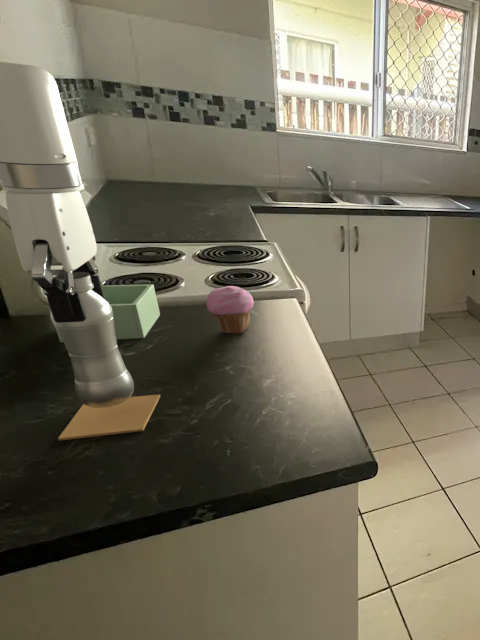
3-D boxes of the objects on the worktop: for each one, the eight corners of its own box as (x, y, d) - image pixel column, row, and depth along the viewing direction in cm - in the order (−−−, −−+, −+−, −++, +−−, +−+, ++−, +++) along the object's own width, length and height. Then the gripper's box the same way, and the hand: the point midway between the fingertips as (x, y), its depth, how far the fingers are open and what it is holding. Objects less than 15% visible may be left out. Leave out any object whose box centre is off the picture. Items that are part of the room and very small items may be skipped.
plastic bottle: (137, 406, 71) (102, 280, 63) (78, 418, 68) (33, 285, 60) (137, 387, 76) (105, 267, 68) (82, 396, 72) (41, 271, 64)
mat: (58, 440, 67) (57, 438, 67) (86, 403, 75) (85, 401, 75) (143, 431, 71) (142, 428, 70) (160, 396, 79) (160, 394, 79)
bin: (60, 342, 92) (48, 307, 89) (85, 317, 102) (75, 286, 99) (144, 337, 97) (136, 304, 94) (160, 314, 107) (153, 284, 104)
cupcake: (250, 338, 101) (244, 294, 97) (205, 339, 99) (196, 293, 95) (261, 322, 109) (256, 280, 104) (219, 322, 107) (212, 280, 103)
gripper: (36, 166, 64) (73, 291, 72) (-43, 185, 50) (14, 339, 57) (104, 170, 67) (133, 290, 74) (48, 188, 52) (91, 335, 60)
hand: (81, 310), depth 66 cm, fingers closed on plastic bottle, 6 cm apart
